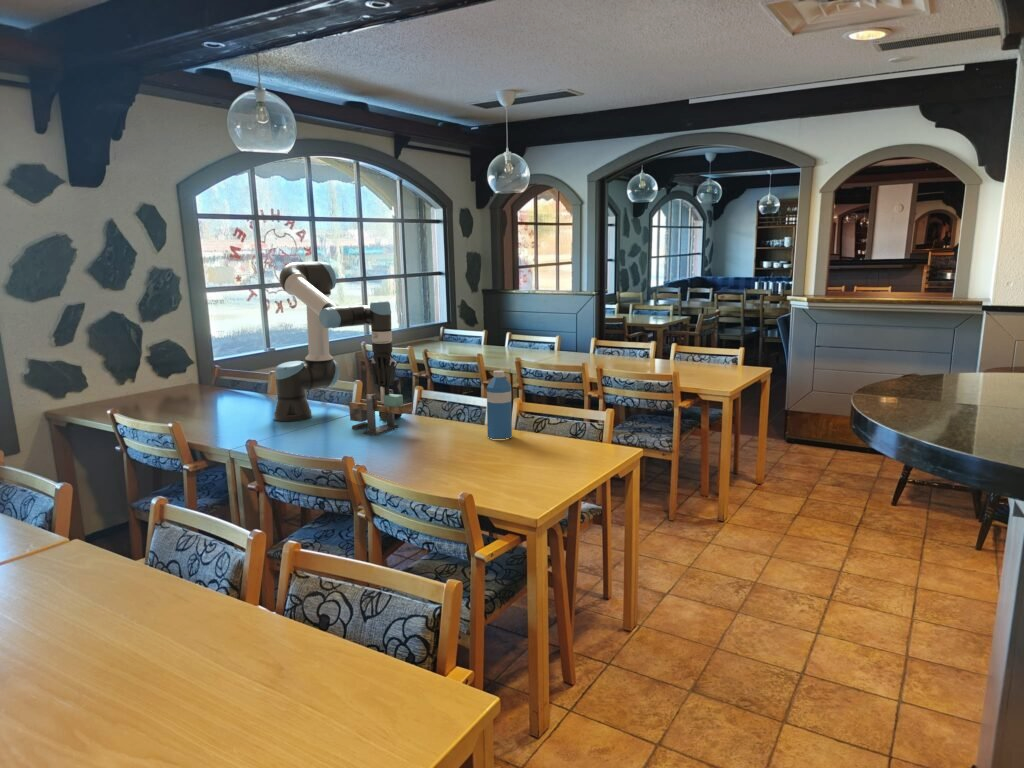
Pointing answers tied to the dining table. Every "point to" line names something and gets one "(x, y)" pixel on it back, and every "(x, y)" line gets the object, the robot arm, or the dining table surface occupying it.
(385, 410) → the beam
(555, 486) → the dining table surface
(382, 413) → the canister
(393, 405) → the rider
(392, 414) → the pivot frame
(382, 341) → the robot arm
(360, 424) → the stop pad
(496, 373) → the water bottle
